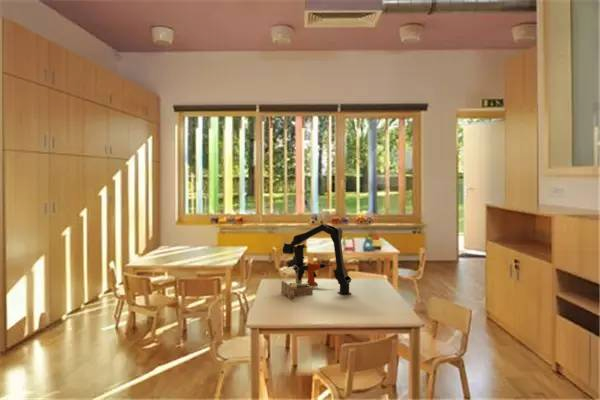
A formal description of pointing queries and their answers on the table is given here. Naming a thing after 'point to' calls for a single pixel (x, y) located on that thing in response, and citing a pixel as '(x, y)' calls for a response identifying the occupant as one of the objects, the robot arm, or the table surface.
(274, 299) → the table surface
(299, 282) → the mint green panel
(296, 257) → the robot arm
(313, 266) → the toy drill
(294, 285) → the tan rectangular block
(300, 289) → the tan wooden t-shaped piece
